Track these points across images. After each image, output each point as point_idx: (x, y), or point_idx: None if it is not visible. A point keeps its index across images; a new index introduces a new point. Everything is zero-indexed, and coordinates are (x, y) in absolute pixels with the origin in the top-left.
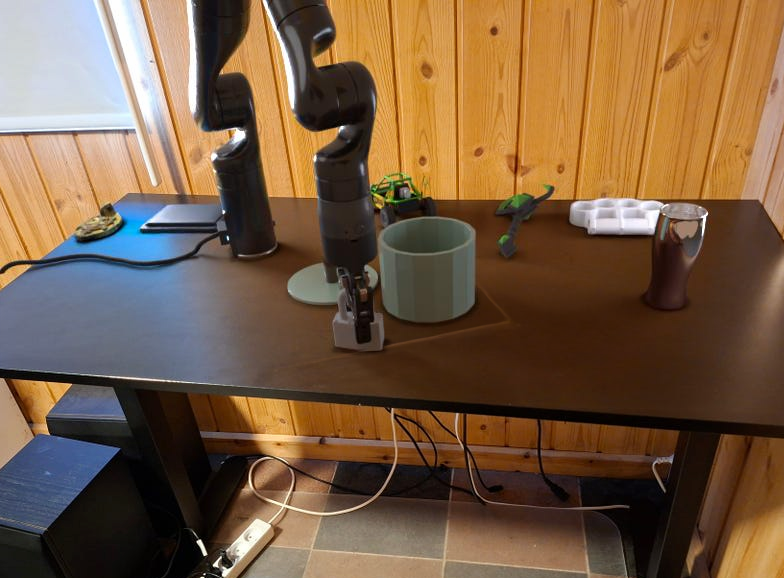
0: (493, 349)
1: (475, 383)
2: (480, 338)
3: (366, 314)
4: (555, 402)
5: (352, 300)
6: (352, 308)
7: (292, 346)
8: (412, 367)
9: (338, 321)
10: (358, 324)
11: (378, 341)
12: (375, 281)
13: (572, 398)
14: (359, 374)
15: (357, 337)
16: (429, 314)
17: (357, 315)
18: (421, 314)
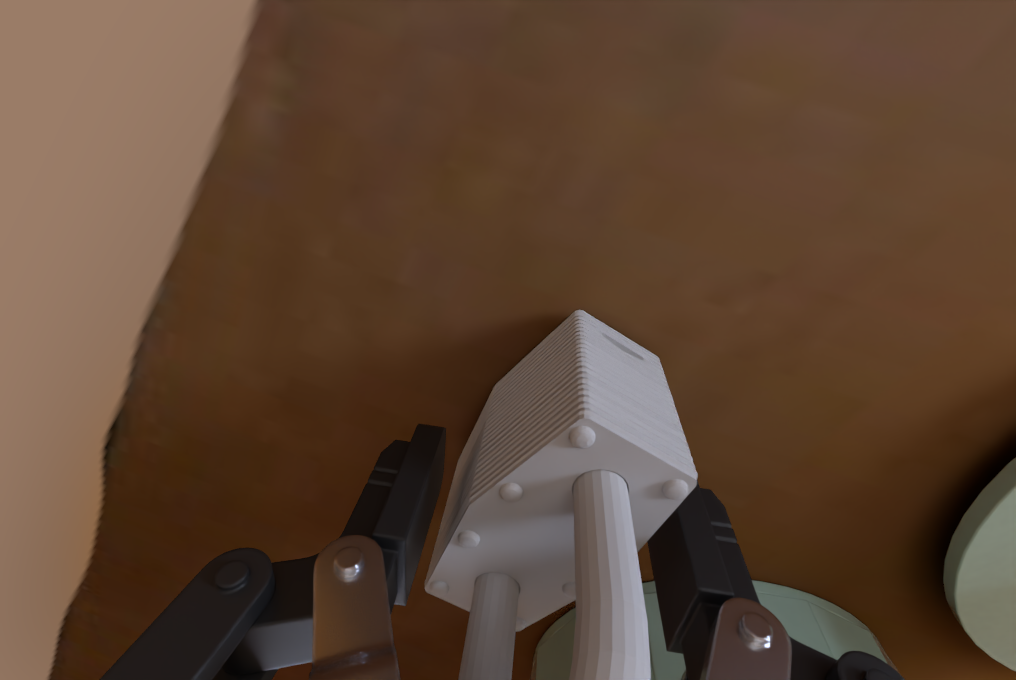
0: None
1: (182, 575)
2: (403, 669)
3: (257, 664)
4: (86, 642)
5: (689, 627)
6: (315, 663)
7: (794, 63)
8: (310, 493)
9: (565, 448)
10: (210, 567)
11: (451, 490)
12: (1008, 661)
13: (100, 665)
14: (319, 323)
15: (409, 452)
16: (545, 676)
17: (124, 659)
18: (562, 663)
